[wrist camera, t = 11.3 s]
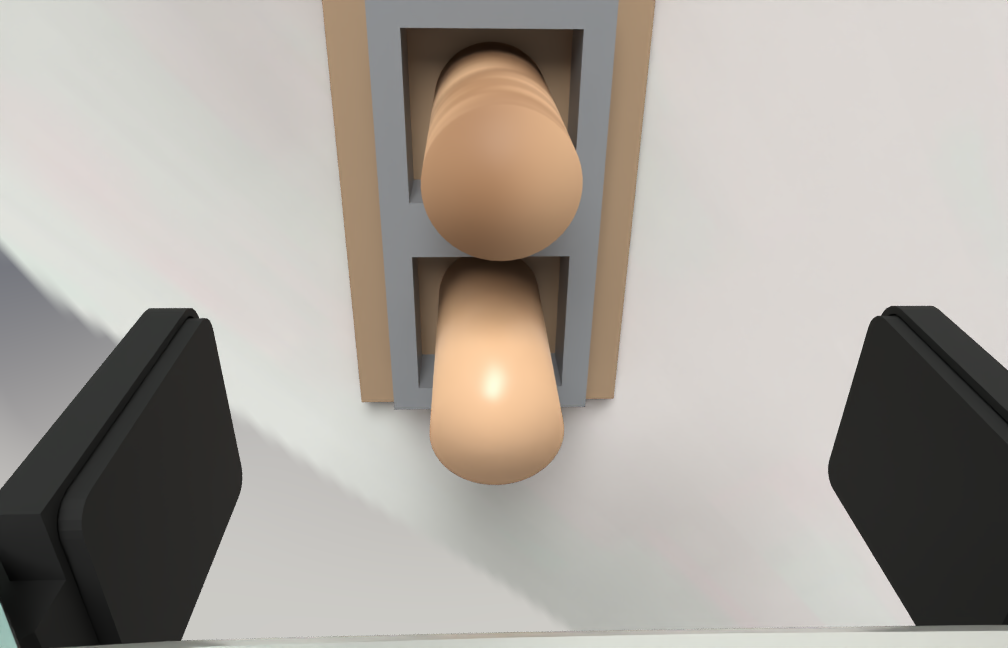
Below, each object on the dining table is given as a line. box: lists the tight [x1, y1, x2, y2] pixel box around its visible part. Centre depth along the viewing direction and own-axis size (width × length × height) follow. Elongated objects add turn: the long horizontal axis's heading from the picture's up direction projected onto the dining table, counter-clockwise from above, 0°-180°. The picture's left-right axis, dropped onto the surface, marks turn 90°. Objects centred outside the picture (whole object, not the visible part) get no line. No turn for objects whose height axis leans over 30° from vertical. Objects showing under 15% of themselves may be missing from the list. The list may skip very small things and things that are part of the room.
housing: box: [322, 0, 655, 485], centre depth 25 cm, size 11×18×10 cm, turn 179°
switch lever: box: [421, 42, 583, 261], centre depth 22 cm, size 4×4×9 cm
